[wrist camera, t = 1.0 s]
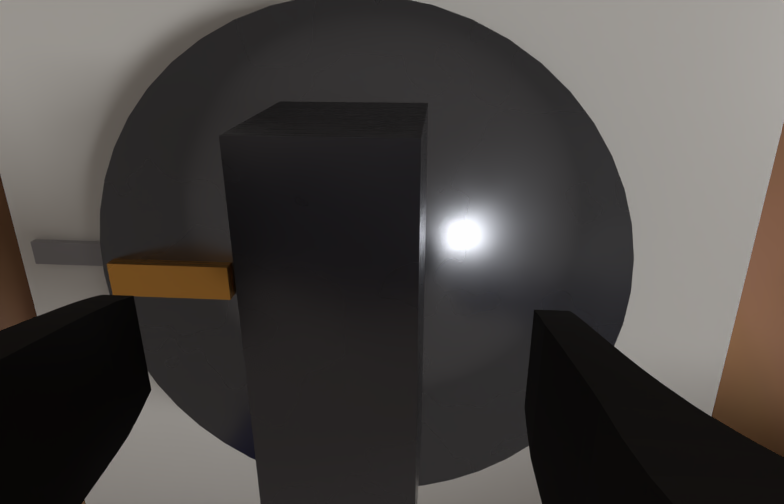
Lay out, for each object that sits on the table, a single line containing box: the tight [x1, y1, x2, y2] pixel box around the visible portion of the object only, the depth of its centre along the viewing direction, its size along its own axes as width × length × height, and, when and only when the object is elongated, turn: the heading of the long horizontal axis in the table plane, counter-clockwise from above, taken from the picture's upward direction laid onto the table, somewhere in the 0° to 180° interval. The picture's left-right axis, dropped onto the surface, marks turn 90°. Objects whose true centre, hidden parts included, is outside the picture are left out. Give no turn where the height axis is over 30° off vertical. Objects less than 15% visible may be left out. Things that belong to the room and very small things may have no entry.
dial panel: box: [0, 0, 784, 504], centre depth 15 cm, size 18×18×2 cm
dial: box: [100, 0, 634, 504], centre depth 12 cm, size 12×12×4 cm
